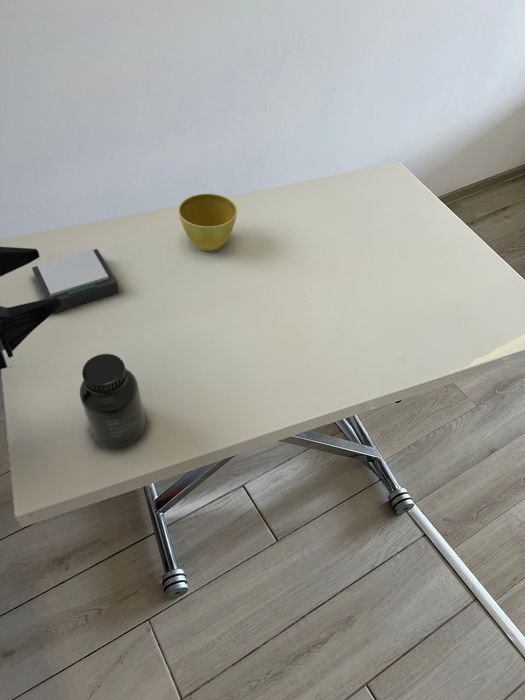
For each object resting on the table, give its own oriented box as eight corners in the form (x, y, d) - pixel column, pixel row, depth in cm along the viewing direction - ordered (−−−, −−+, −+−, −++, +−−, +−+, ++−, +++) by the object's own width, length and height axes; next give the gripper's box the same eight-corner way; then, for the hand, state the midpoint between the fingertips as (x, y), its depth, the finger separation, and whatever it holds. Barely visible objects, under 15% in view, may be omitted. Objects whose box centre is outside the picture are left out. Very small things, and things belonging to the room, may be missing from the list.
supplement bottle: (89, 413, 71) (68, 354, 62) (139, 400, 73) (127, 341, 64) (97, 455, 67) (76, 399, 58) (150, 440, 69) (139, 383, 60)
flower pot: (246, 251, 96) (247, 217, 90) (194, 266, 92) (192, 232, 87) (222, 221, 101) (221, 188, 96) (172, 235, 98) (169, 201, 93)
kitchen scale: (51, 314, 83) (46, 300, 81) (35, 278, 88) (30, 264, 86) (119, 292, 87) (116, 278, 85) (99, 259, 92) (96, 245, 90)
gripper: (-130, 321, 45) (58, 272, 51) (-147, 202, 55) (11, 172, 61) (-78, 398, 53) (78, 348, 59) (-101, 283, 63) (34, 250, 69)
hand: (49, 276), depth 62 cm, fingers open, 9 cm apart
